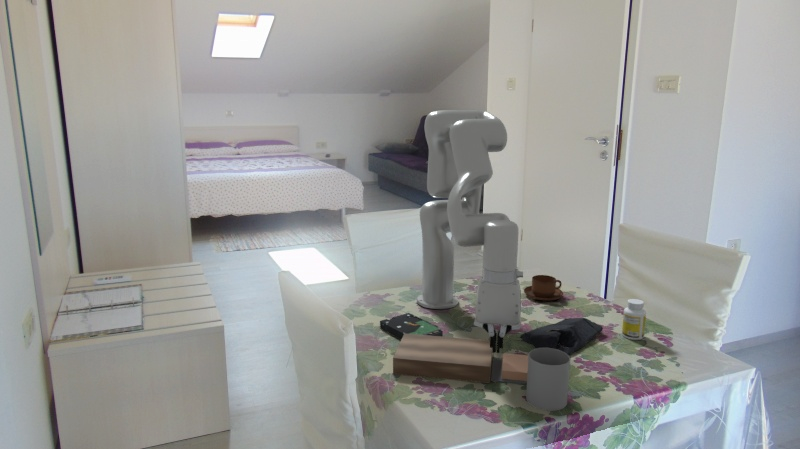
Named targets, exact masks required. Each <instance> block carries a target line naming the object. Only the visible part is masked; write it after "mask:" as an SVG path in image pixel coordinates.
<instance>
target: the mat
mask: <svg viewBox="0 0 800 449" xmlns="http://www.w3.org/2000/svg"><path fill="white" fill-rule="evenodd" d="M502 363H503V358H495V357H494V358H493V357H492V365H491V376H490V382H498V383H507V384H518V385H527V381H521V380H511V379H502Z"/></svg>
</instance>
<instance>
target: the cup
mask: <svg viewBox="0 0 800 449" xmlns="http://www.w3.org/2000/svg"><path fill="white" fill-rule="evenodd" d="M570 368H571V358H570V355H567V354H566V353H565V352H563V351H560V350H558V349H553V348H533V349H531V350H529V352H528V373H527V384H526V398H525V399H526V402H527V404H529V405H530V406H531V407H534V408H536V409H537V410H541V411H546V412H550V411H551V412H552V411H553V412H556V411H560V410H563V409H564V408H565V407H566V406H567V405H568V394H569V382H570V381H569V380H570V379H569V378H570Z"/></svg>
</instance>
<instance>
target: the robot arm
mask: <svg viewBox="0 0 800 449" xmlns="http://www.w3.org/2000/svg"><path fill="white" fill-rule="evenodd" d="M424 134H425V140H426V142H427V146H428V147H427V148H428V158H427V159H428V160H427V177H426V189H427V192H428V195H430V196H431V197H432V198H436V199H438V200H431V201H428V202H425V203H424V204H423V205H422V206H421V207H420V210H419V222H420V227H421V238H422V250H421V251H422V252H421V253H422V261H421V262H422V263H421V264H422V269H421V271H422V272H421V273H422V276H421V286H422V288H421V294H419V295H418V296H417V298H416V303H417V304H418V305H419V306H421V307H424V308H426V309H431V310H444V309H445V310H447V309H451V308H453V307H456V306H457V305H458V304H459V298H458V297H457V296H456V295H454V273H455V272H454V271H455V269H454V268H455V266H454V265H455V247H454V246H455V245H454V243H455V244H456V245H458V246H460V247H463V248H464V247H465V248H466V247H468V248H469V247H482V246H483V252H482V253H483V254H482V276H481V277H480V278H479V279H478V283H477V288H476V297H475V309H474V312H475V314H474V315H475V317H474V322H473V325H474V326H475V327H478V328H482V329H483V330H484V331H486V332H487V334H488V335H489V340H490V348H493V352H492V354H495V353H497V354H500V350H503V349H504V337H505V336H506V335H507V334H508V333H509V332H511V331H514V330H521V328H522V322H521V315H522V314H521V313H522V312H521V311H522V297H521V296H522V294H521V284H520V280H519V279H520V278H524V271H521V270H519V269H518V267H517V266H518V251H519V226H518V224H517V223H516V222H514V221H512V220H511V219H510V218H509V216H508V215H506V214H505V213H501V212H490V213H487V212H485V213H484V212H483V213H480V209H481V208H480V207H481V200H482V199H481V197H482V187H483V185H485V184H486V183H488V182H489V181H490V180H491V179H492V178H493V175H494V173H493V167H492V163H491V160H490V159H491V158H490V155H489V153H499V152H502V151H503V150H504V149H505V148H506V146H507V143H508V133H507V129H506V126H505V125H504V122H503V121H502V120H500V118H499V117H497V116H495V115H494V114H492V113H490V112H488V111H486V110H482V109H480V110H478V109H473V110H471V109H470V110H469V109H465V110H464V109H443V110H442V109H441V110H435V111H431V112H430V113H428V114H427V115H426V117H425V120H424ZM439 199H440V200H439ZM441 199H443V200H441ZM447 233H450V234H451V237H452V239H453V241H454V243H453V242H452V240H451V239H450V238H449V237H448V236H447ZM495 325H498V326H499V325H500V327H499V330H498V332H497V330H496V329H495Z"/></svg>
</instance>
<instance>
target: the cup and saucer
mask: <svg viewBox="0 0 800 449" xmlns="http://www.w3.org/2000/svg"><path fill="white" fill-rule="evenodd" d="M557 283H559V285H558V286H557ZM561 287H562V280H559V279H556V277H553V276H552V275H546V274H536V275H533V276H532V277H531V285H529V286H526V287H524V289H523V292H524V294H525V295H526V296H527V297H529V298H531V299H533V300H537V301H544V302H547V301H548V302H549V301H550V302H551V301H556V300H559V299H560V298H562V297H563V295H564V292H563V290H561Z"/></svg>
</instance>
